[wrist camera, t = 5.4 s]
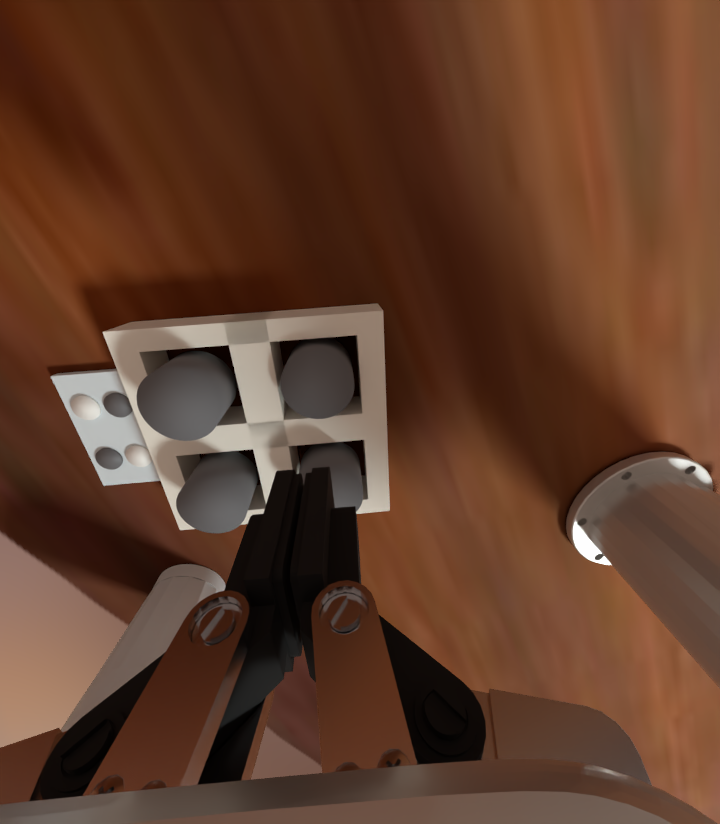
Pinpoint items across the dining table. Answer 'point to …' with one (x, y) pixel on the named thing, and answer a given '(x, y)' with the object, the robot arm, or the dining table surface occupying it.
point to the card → (107, 425)
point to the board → (264, 394)
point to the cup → (150, 631)
